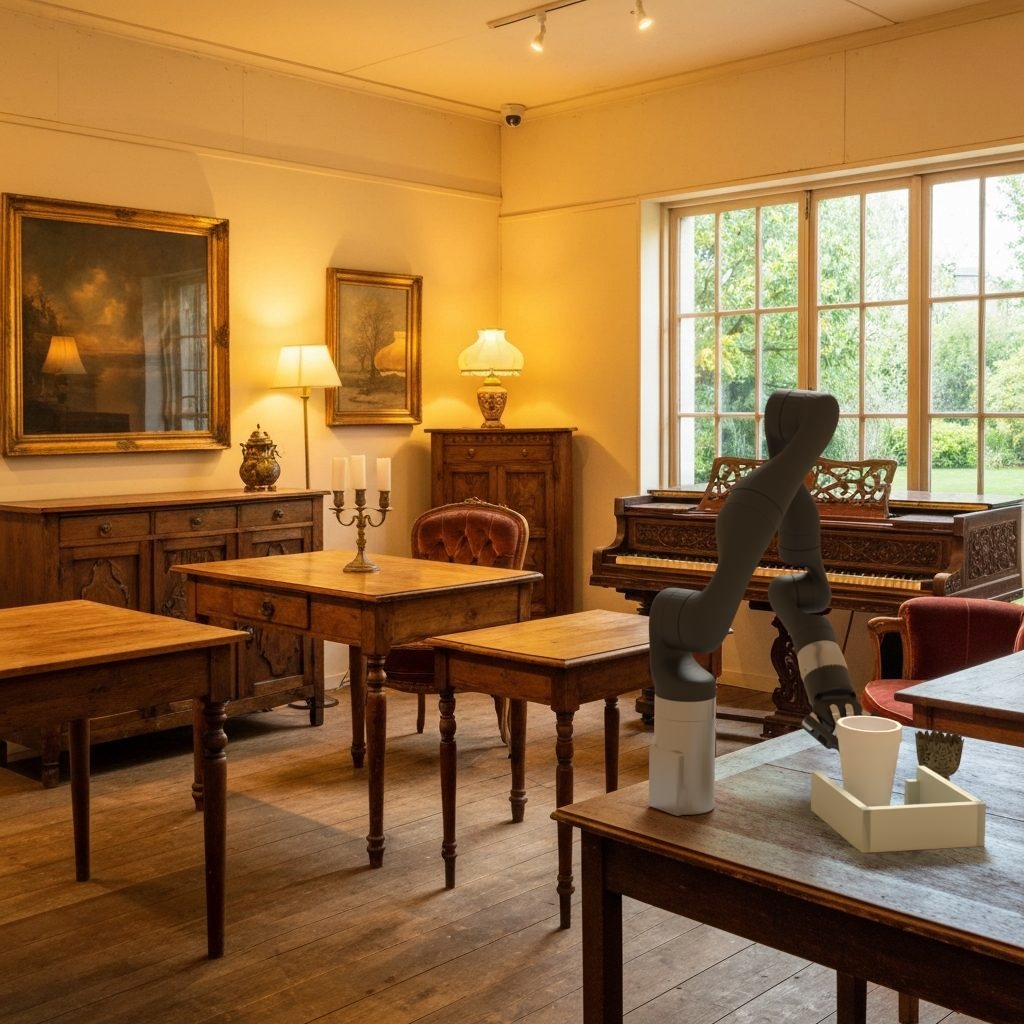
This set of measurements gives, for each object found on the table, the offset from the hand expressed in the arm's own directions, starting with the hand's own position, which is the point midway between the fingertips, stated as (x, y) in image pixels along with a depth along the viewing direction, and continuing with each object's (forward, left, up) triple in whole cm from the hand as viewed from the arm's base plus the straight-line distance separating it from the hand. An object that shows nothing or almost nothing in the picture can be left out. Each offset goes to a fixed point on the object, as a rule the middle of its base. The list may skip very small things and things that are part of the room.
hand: (855, 769), depth 191 cm
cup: (+16, -4, -4) cm, 17 cm away
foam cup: (-3, -4, -4) cm, 7 cm away
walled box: (-7, -12, -4) cm, 14 cm away
